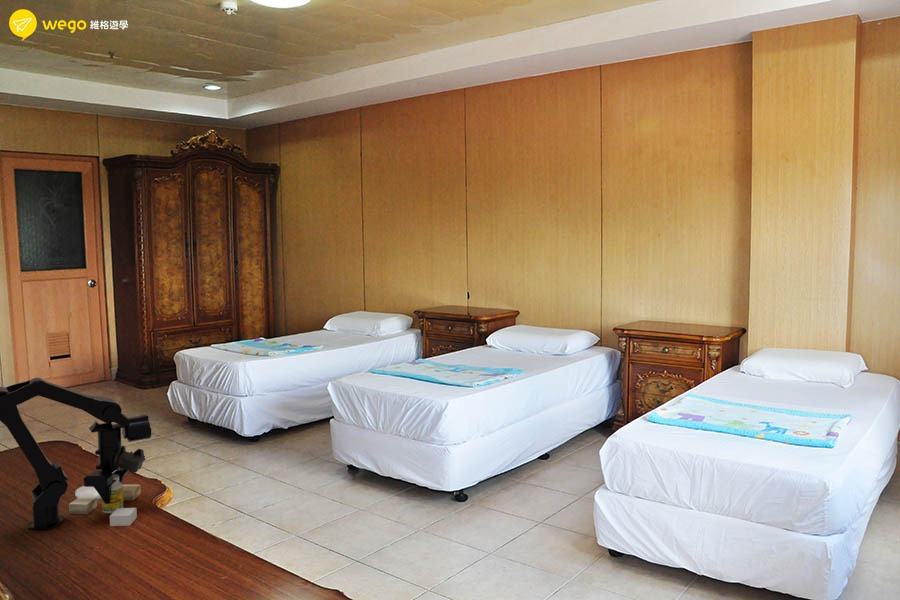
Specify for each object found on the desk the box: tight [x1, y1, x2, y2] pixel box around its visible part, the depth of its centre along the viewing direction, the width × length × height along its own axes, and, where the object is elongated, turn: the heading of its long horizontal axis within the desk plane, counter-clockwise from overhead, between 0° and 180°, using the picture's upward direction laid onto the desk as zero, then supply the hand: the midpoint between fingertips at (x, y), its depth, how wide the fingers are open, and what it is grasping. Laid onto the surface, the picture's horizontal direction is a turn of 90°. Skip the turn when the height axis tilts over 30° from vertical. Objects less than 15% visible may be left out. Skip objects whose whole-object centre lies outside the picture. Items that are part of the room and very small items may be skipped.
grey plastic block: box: [109, 507, 138, 527], centre depth 180 cm, size 5×5×3 cm
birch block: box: [68, 497, 98, 515], centre depth 187 cm, size 5×5×3 cm
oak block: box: [122, 484, 142, 501], centre depth 196 cm, size 5×5×3 cm
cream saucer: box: [74, 485, 101, 500], centre depth 200 cm, size 12×12×1 cm
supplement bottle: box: [100, 474, 124, 514], centre depth 187 cm, size 5×5×10 cm
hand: (112, 499), depth 187 cm, fingers closed on supplement bottle, 5 cm apart
